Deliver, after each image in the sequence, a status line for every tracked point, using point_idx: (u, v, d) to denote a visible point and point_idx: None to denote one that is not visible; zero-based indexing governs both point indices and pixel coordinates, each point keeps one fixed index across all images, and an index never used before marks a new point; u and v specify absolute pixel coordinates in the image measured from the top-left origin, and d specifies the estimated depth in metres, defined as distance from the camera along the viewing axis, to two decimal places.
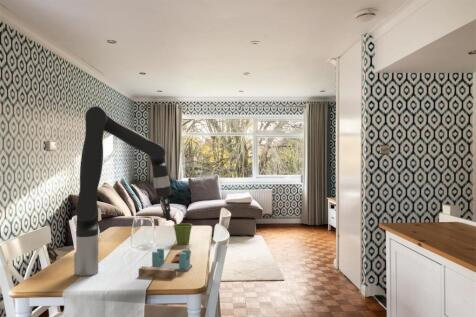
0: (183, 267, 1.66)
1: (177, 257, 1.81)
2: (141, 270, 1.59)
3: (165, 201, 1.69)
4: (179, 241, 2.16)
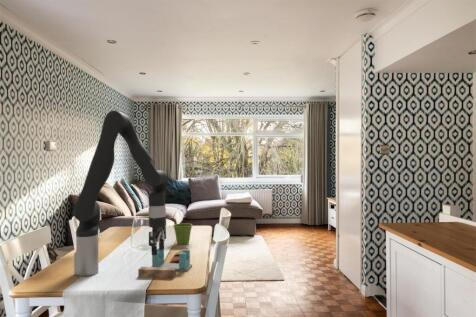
0: (183, 267, 1.66)
1: (175, 257, 1.81)
2: (141, 270, 1.58)
3: (150, 234, 1.53)
4: (179, 241, 2.16)
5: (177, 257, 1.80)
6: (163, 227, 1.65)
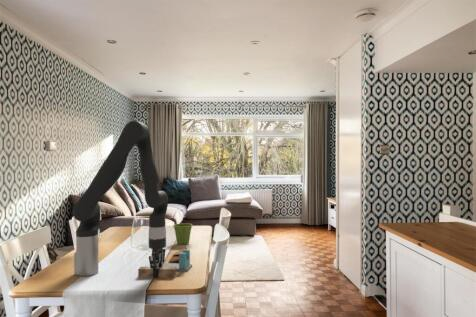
0: (183, 267, 1.66)
1: (174, 257, 1.81)
2: (141, 270, 1.58)
3: (150, 259, 1.53)
4: (179, 241, 2.16)
5: (176, 257, 1.80)
6: (163, 250, 1.65)
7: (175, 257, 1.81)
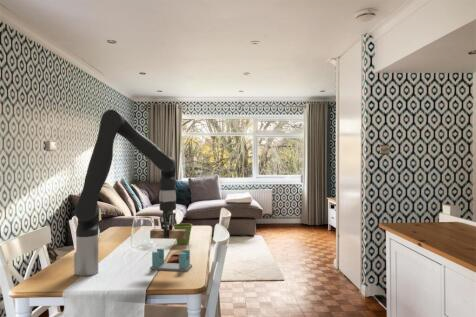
0: (183, 267, 1.66)
1: (173, 257, 1.81)
2: (152, 232, 1.66)
3: (161, 219, 1.61)
4: (179, 241, 2.16)
5: (174, 257, 1.81)
6: (173, 213, 1.73)
7: (173, 257, 1.81)
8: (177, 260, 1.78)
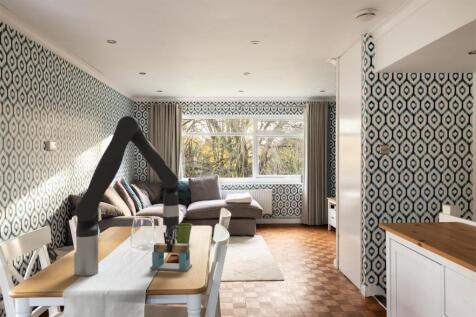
0: (183, 267, 1.66)
1: (171, 257, 1.81)
2: (156, 246, 1.70)
3: (165, 234, 1.65)
4: (179, 241, 2.16)
5: (173, 257, 1.81)
6: (176, 228, 1.76)
7: (172, 257, 1.81)
8: (176, 260, 1.78)
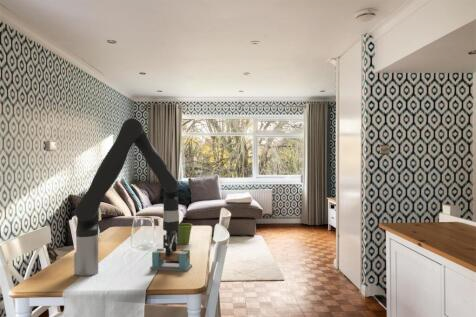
0: (183, 267, 1.66)
1: None
2: None
3: (165, 237, 1.64)
4: (179, 241, 2.16)
5: None
6: (176, 230, 1.76)
7: None
8: None
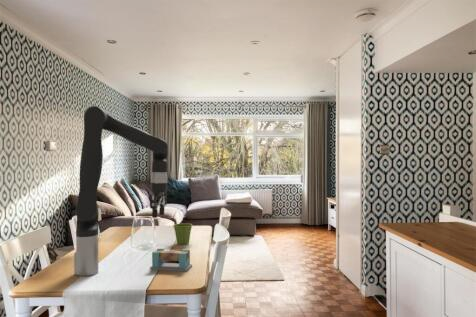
0: (183, 267, 1.66)
1: None
2: None
3: (152, 197, 1.63)
4: (179, 241, 2.16)
5: None
6: (164, 194, 1.76)
7: None
8: None
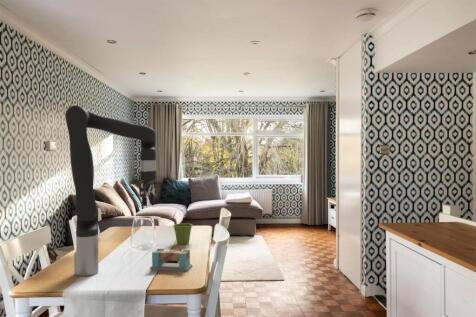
0: (183, 267, 1.66)
1: None
2: None
3: (141, 185, 1.63)
4: (179, 241, 2.16)
5: None
6: (154, 182, 1.75)
7: None
8: None
